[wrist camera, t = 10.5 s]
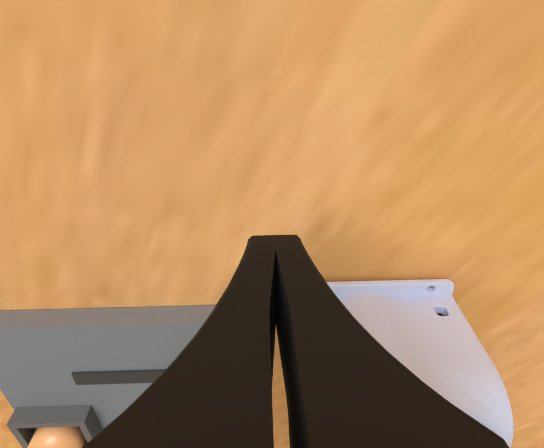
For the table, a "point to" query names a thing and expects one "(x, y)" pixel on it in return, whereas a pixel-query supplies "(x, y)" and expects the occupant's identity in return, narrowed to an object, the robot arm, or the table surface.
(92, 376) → the control board
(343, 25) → the table surface
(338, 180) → the table surface
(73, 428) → the orange button
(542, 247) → the table surface
